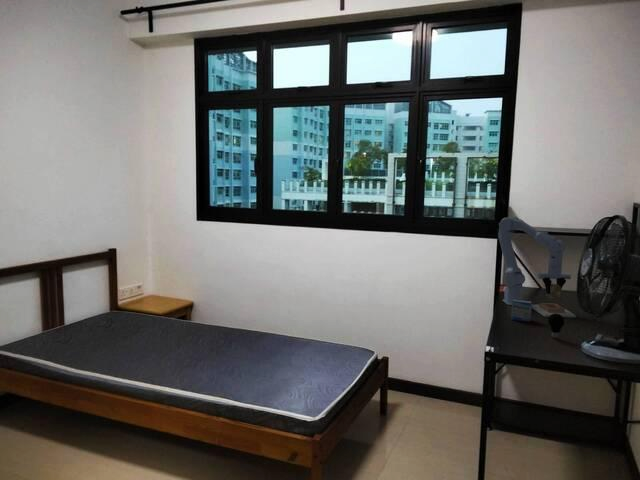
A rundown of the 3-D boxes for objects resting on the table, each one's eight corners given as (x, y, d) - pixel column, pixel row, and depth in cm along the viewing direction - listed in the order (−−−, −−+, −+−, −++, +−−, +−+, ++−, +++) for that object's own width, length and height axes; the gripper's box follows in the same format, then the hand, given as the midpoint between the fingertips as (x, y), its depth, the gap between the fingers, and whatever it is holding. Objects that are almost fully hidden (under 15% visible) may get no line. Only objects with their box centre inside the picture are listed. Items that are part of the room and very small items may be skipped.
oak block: (551, 298, 221) (552, 286, 221) (545, 295, 227) (546, 283, 227) (559, 299, 221) (560, 286, 220) (554, 295, 227) (555, 283, 226)
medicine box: (511, 319, 211) (512, 300, 210) (512, 317, 215) (513, 298, 214) (530, 322, 208) (531, 303, 207) (530, 319, 212) (532, 301, 210)
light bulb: (548, 334, 191) (550, 310, 189) (564, 338, 187) (566, 313, 186) (545, 338, 186) (546, 314, 185) (561, 341, 182) (563, 316, 181)
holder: (529, 306, 235) (529, 300, 234) (557, 307, 234) (558, 301, 234) (544, 316, 217) (545, 310, 216) (575, 317, 216) (576, 311, 216)
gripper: (543, 266, 219) (540, 295, 221) (574, 267, 218) (572, 295, 220) (536, 264, 226) (534, 291, 228) (567, 264, 225) (565, 292, 227)
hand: (552, 293), depth 224 cm, fingers closed on oak block, 4 cm apart
